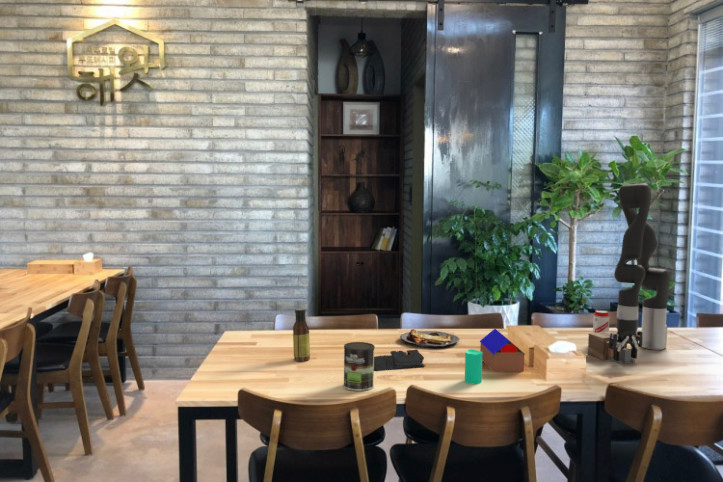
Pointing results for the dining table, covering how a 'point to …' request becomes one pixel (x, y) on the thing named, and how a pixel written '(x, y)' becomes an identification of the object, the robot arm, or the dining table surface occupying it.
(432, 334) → the food plate
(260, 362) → the dining table surface
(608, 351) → the block
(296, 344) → the sauce bottle
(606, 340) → the tunnel
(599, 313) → the beer can
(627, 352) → the sled
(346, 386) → the coffee can
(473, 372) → the candle
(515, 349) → the house
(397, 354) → the dark slate chunk
